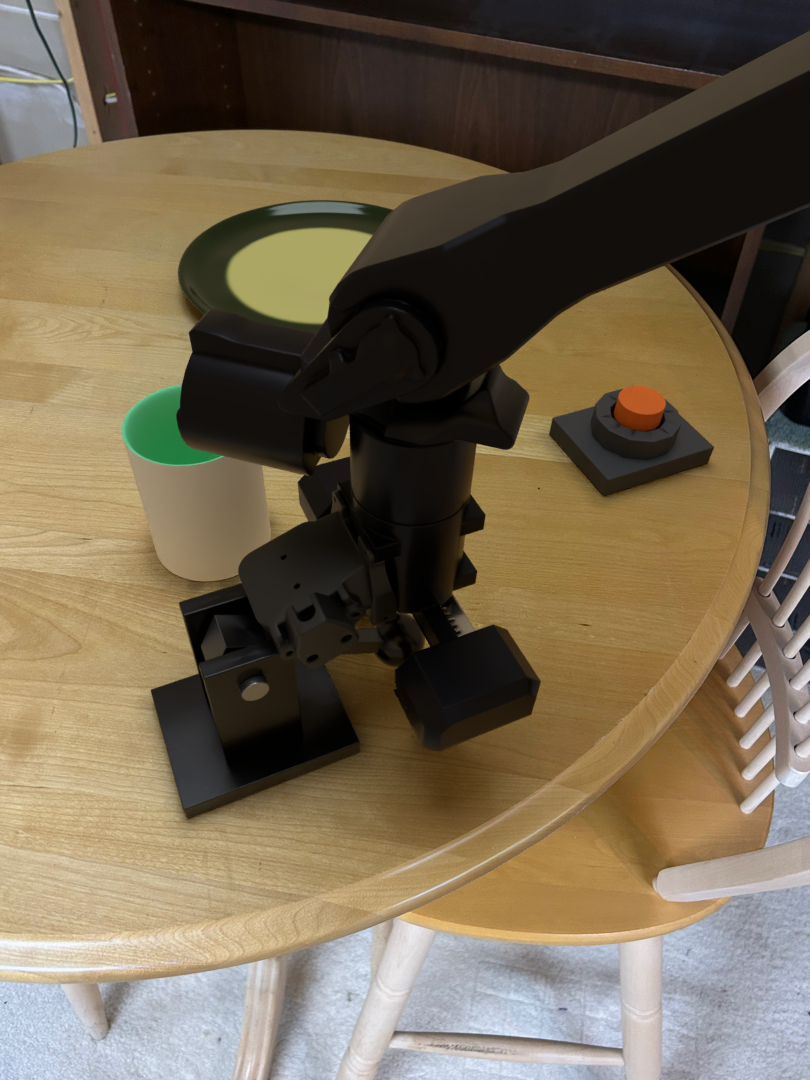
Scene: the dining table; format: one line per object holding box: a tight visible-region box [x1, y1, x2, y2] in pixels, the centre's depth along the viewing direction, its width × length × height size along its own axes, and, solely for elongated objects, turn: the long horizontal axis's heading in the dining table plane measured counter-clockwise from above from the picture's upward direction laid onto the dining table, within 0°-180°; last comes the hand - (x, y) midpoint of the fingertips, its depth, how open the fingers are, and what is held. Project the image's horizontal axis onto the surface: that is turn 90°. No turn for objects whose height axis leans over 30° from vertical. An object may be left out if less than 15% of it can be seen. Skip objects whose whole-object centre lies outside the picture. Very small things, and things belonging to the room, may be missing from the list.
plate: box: [177, 199, 394, 333], centre depth 80 cm, size 28×28×2 cm
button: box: [614, 385, 666, 432], centre depth 62 cm, size 4×4×2 cm
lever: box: [201, 612, 426, 668], centre depth 44 cm, size 13×3×3 cm, turn 114°
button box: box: [549, 388, 715, 497], centre depth 64 cm, size 8×10×4 cm
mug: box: [121, 383, 272, 582], centre depth 54 cm, size 12×8×10 cm
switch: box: [150, 582, 361, 820], centre depth 43 cm, size 10×8×10 cm
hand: (401, 668), depth 49 cm, fingers open, 9 cm apart
